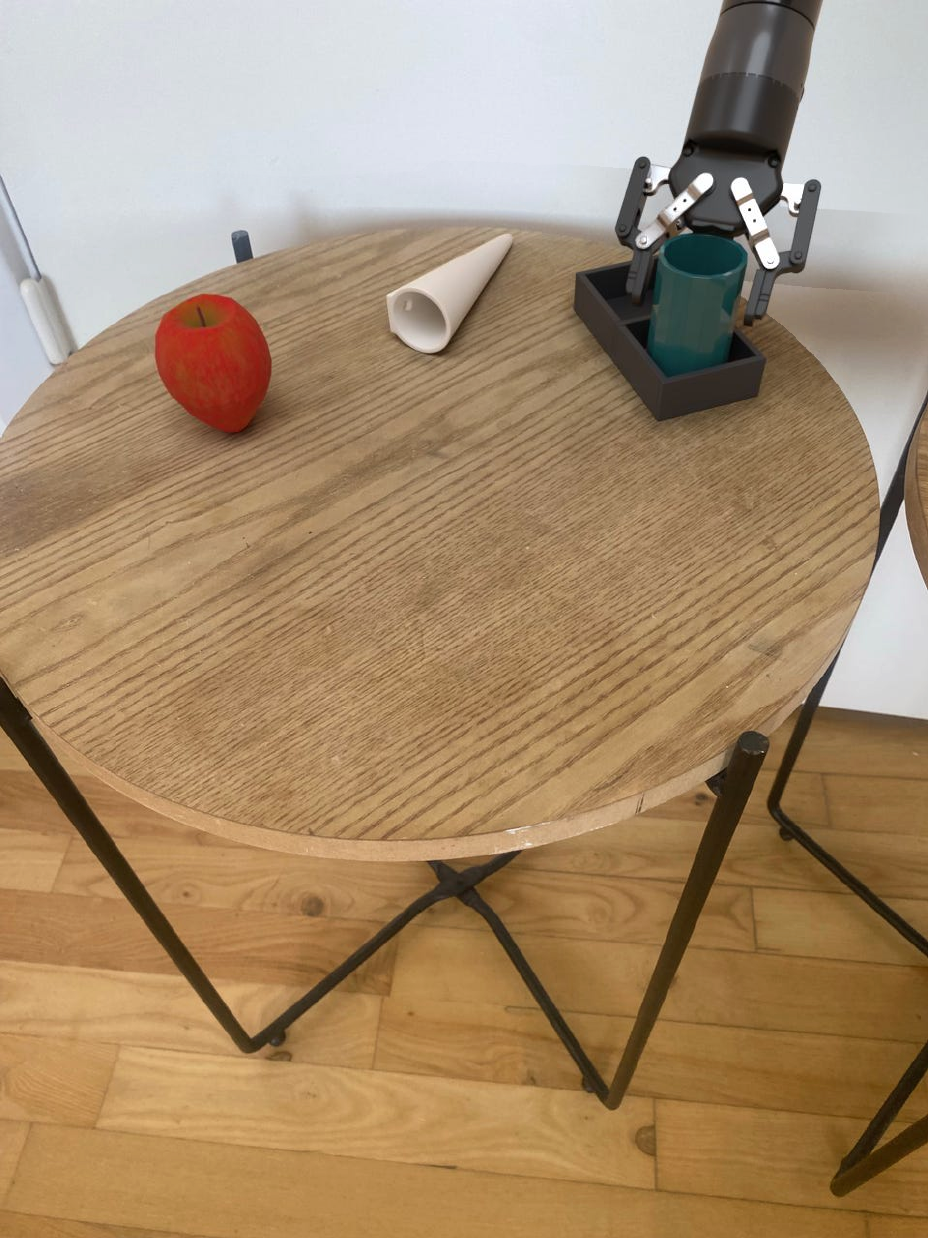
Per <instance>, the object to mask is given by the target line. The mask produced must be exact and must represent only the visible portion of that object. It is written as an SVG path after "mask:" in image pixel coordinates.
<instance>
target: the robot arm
mask: <svg viewBox="0 0 928 1238" xmlns="http://www.w3.org/2000/svg"><path fill="white" fill-rule="evenodd" d="M823 2H824V0H722V3H721V6H720V11H719V15H718V19H717V22H716V24H715V29H714V31H713V34H712V36H711V39H710V41H709V44H708V47H707V50H706V53H705V57H704V59H703V60H704V61H703V63H702V64H703V65H702V68H701V72H700V76H699V80H698V84H697V87H696V93H695V96H694V100H693V104H692V108H691V111H690V115H689V116H690V117H689V119H688V120H689V121H688V123H687V127H686V132H685V136H684V140H683V144H682V148H681V151H680V155H679V156H678V159H677V160H676V161H675V163H674V164H673V165H672V166H671V167H669V166H664V165H659V164H655V163H651V160H650V158H649V157H647V156H644V155H643V156H639V157H637V159H635V161H634V164H633V168H632V171H631V174H630V177H629V180H628V184H627V187H626V190H625V193H624V197H623V200H622V203H621V207H620V209H619V213H618V216H617V219H616V221H615V226H614V232H615V235H616V237H617V240H618V242H619V244H620V245H621V246H622V247H627V248H628V249H630V250H632V251H633V253H632V258H631V260H632V262H631V266H630V270H629V274H628V278H627V282H626V290H627V294H628V296H629V297H631V302H632V304H633V306H638V307H642V306H643V304H644V300H645V296H646V292H647V288H648V284H649V280H650V276H651V272H652V268H653V264H654V258H653V256H654V255H656V253H657V252H659V250H660V247H661V246H662V245H663V244H664V243H665V242H666V241H667V240H668V239H671V238H673V237H675V236H678V235H681V233H682V232H683V231H685V230H686V229H688V230H689V231H691V232H692V233H695V232H696V233H697V232H700V233H713V234H718V235H721V236H725V237H729V238H731V239H732V240H734V241H735V238H738V237H742V236H743V235H744V237H745V240H746V242H747V244H748V246H749V249H750V251H751V253H752V254H753V255H754V258H755V260H756V263H757V265H758V267H759V268H756V270H755V274H754V278H753V281H752V286H751V289H750V293H749V297H748V301H747V304H746V308H745V311H744V316H743V321H742V325H743V326H745V327H749V328H753V327H754V324H755V320H757V321H762V320H763V318H764V317H765V316H766V314H767V312H768V308H769V304H770V299H771V296H772V292H773V289H774V285H775V281H776V280H777V278H779V277H780V276H781V275H786V274H790V273H792V274H794V275H795V274H800V273H802V272H803V271H804V270H805V267H806V265H807V264H806V263H807V258H808V253H809V250H810V244H811V239H812V234H813V230H814V225H815V220H816V215H817V211H818V205H819V202H820V201H819V200H820V196H821V191H822V184H821V182H820V181H819V180H818V179H815V178H812V179H809V180H807V181H806V182H805V183H794V182H793V183H791V182H784V180H783V175H782V173H783V167H784V164H785V160H786V158H787V157H786V156H787V154H788V153H787V152H788V149H789V145H790V141H791V137H792V133H793V129H794V125H795V122H796V118H797V116H798V110H799V107H800V103H801V102H802V100H803V97H804V94H805V84H806V81H807V77H808V73H809V69H810V63H811V55H812V48H813V42H814V36H815V34H816V29H817V25H818V22H819V18H820V13H821V10H822V6H823ZM665 185H668V187H669V191H670V194H671V196H672V198H673V200H672V201H671V202H670V203H669V204H667V206H665V207H664V208H663V209H662V210H661V211H660V212H659V213H658V215H657V216H656V218H655V219H654V220H653V221H652V222H651V223H650V224H648V226H646V228H644V229H643V230H640V229H639V226H640V222H641V220H642V215H643V213H644V209H645V206H646V203H647V200H648V197H654V196H656V195H657V194H658V191H659V190H660V188H661V187H662V186H665ZM781 201H783V202H785V203H786V204H787V209H788V210H787V212H788V214H789V215H790V216H791V217H792V218H796V222H795V227H794V231H793V237H792V242H791V247H790V250H785V251H779V252H778V250H777V249H776V248H777V247H776V246H775V243H774V242H773V239H772V237H771V235H770V230H769V228H768V225H767V223H766V220H765V219H764V217H765V216H767V214H769V213H770V212H771V211H772V210H773V209H774V208H776V206H777V205H778V204H779V203H780V202H781Z"/></svg>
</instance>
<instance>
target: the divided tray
mask: <svg viewBox="0 0 928 1238" xmlns="http://www.w3.org/2000/svg"><path fill="white" fill-rule="evenodd" d="M658 257H659V253H658V254H654V255H653V258H654V264H653V268H652V272H651V276H650V280H649V284H648V288H647V292H646V296H645V300H644V304H643V306H642V307H638V306H633V304H632V302H631V297H629V296H628V294H627V290H626V282H627V278H628V274H629V270H630V266H631V262H632V259H631V260H626V261H623V262H617V263H613V264H608V265H605V266H600V267H595V268H590V269H587V270H582V271H576V272H575V281H574V299H573V310H574V312H575V313H576V314H577V315H578V318H580V320H581V321H582V322H583V324H584V325H585V326H586V327H587V329H588V331H589V332H590V333H591V334H592V335H593V337H594V339H595V340H596V341H597V342H598V344H599V345H600V346H601V348H602V349H603V351H605V353H606V354H607V356H608V357H609V358H610V360H611V361H612V362H613V364H614V365H615V367H616V368H617V369H618V370H619V372H620V373H621V374H622V375H623V377H624V378H625V379H626V381H627V382H628V384H629V385H630V386H631V388H632V389H633V390H634V391H635V393H636V394H637V396H638V397H639V398H640V400H641V401H642V402H643V403H644V405H645V406H646V407H647V409H648V410H649V411H650V413H651V414H652V415H653V417H654V418H655V419H656V421H657V422H662V421H665V420H670V419H673V418H676V417H681V416H684V415H688V414H693V413H696V412H700V411H704V410H708V409H712V408H716V407H720V406H724V405H728V404H731V403H736V402H740V401H744V400H748V399H751V398H757V397H758V396H759V392H760V388H761V387H760V386H761V384H762V380H763V375H764V371H765V367H766V363H767V362H766V361H767V357H766V356H765V354H763V352H761V351H760V349H759V348H758V347H757V346H756V345H755V344H754V343H753V342H752V340H751V339H749V338H748V337H747V335H745V333H744V332H743V331H742V330H741V329H740V327H738V325H737V324H735V326H734V331H733V336H732V340H731V345H730V350H729V355H728V360H727V363H726V364H721V365H717V366H713V367H709V368H705V369H701V370H697V371H693V372H689V373H685V374H681V375H677V376H673V377H669V378H667V377H666V376H665V375H664V373H663V372H662V371H661V370H660V368H659V367H658V366H657V365H656V363H655V362H654V361H653V360H652V358H651V357H650V356H649V355H648V353H647V352H646V351H647V343H648V335H649V328H650V320H651V312H652V304H653V296H654V289H655V281H656V273H657V265H658Z"/></svg>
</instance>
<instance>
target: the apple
mask: <svg viewBox="0 0 928 1238" xmlns="http://www.w3.org/2000/svg"><path fill="white" fill-rule="evenodd" d="M268 343H269V342H268V341H267V339H266V336H265V335H264V333H263V330H262V329H261V326H260V324H259V322H258V320H257V319H256V318H255V317H254V316H253V314H252V313H250V312H249V311H248V310H247V308H245V307H244V306H242V305H241V304H240V303H239V302H238V301H236V300H235V299H234V298H233V297H229V296H225V295H221V294H213V293H200V294H198V295H194V296H191V297H189V298H187V299H186V300H184V301H181V302H180V303H178V304H177V305H176V306H174V307H173V308H171V309H170V310H168V311H167V312H165V313H163V315H162V318H161V320H160V323H159V325H158V327H157V329H156V331H155V335H154V361H155V364H156V365H155V366H156V368H157V372H158V376H159V377H160V380H161V382H162V383H163V385H164V387H165V389H166V390H167V392H168V393H169V395H170V396H171V397H172V398H173V399H174V400H175V401H176V403H178V404H179V405H180V406H181V407H182V408H183V409H184V410H185V411H186V412H187V413H189V414H190V415H191V416H192V417H194V418H196V419H197V420H199V421H200V422H202V423H204V424H206V425H207V426H209V427H212V428H213V429H217V430H219V431H221V432H224V433H228V434H233V433H239V432H240V431H242V430H244V429H245V428H246V427H248V425H249V424H250V423H251V421H252V419H253V418H254V416H255V415H256V413H257V411H258V410H259V408H260V406H261V404H262V403H263V401H264V399H265V397H266V395H267V392H268V390H269V385H270V381H271V378H272V370H273V369H272V368H273V367H272V366H273V365H272V364H273V360H272V356H271V352H270V347H269V344H268Z"/></svg>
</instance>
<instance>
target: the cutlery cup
mask: <svg viewBox="0 0 928 1238" xmlns="http://www.w3.org/2000/svg"><path fill="white" fill-rule="evenodd" d="M658 254H659V257H658V265H657V273H656V281H655V289H654V296H653V304H652V312H651V320H650V328H649V335H648V343H647V351H646V352H647V353H648V355H649V356H650V357H651V358H652V360H653V361H654V362H655V363H656V365H657V366H658V367H659V368H660V370H661V371H662V372H663V373H664V375H665V376H666V377H667V378H669V377H673V376H677V375H681V374H685V373H689V372H693V371H697V370H701V369H705V368H709V367H713V366H717V365H721V364H726V363H727V360H728V355H729V350H730V345H731V340H732V336H733V331H734V326H735V325H736V320H737V315H738V310H739V306H740V302H741V297H742V296H741V295H742V292H743V286H744V282H745V276H746V273H747V267H748V263H749V262H748V261H749V260H748V258H749V257H748V256H749V253H748V251H747V250H746V249H745V248H744V246H743V245H742V244H741V243H739V242H738V241H735V239H734V240H732V239H731V238H729V237H725V236H721V235H718V234H713V233H700V232H697V233H696V232H695V233H693V232H688V233H682V234H681V233H680V234H679V235H678V236H675V237H673V238H671V239H668V240H667V241H666V242H665V243H664V244H663V245H662V246H661V247H660V249H659V250H658Z"/></svg>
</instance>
